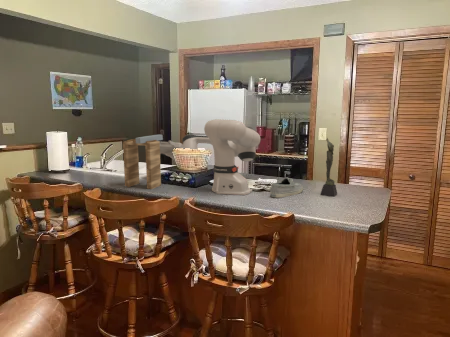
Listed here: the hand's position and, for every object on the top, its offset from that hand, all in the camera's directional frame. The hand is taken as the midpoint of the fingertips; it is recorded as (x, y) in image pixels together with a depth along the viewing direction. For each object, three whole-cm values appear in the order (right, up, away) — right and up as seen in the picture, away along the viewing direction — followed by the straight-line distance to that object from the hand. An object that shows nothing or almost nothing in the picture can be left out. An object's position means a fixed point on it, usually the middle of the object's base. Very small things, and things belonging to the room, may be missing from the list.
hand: (162, 141), depth 221 cm
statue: (+94, -31, -29) cm, 103 cm away
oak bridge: (-10, -27, -11) cm, 30 cm away
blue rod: (-5, -1, -14) cm, 15 cm away
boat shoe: (+72, -31, -28) cm, 83 cm away
